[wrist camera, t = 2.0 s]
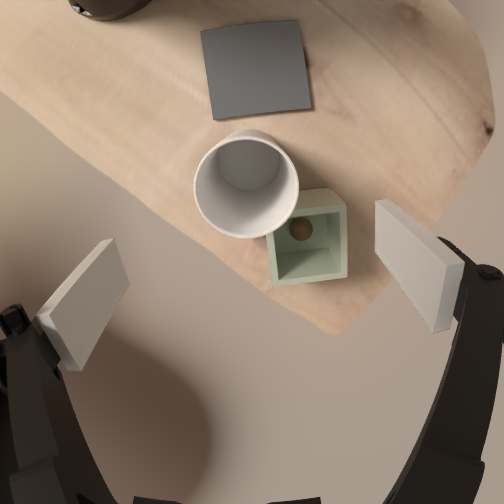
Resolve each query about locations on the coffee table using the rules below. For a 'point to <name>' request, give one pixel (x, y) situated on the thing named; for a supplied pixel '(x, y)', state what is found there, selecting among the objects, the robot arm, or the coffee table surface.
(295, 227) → the walnut ball
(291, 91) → the coaster
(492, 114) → the coffee table surface
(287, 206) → the cup
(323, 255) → the planter
